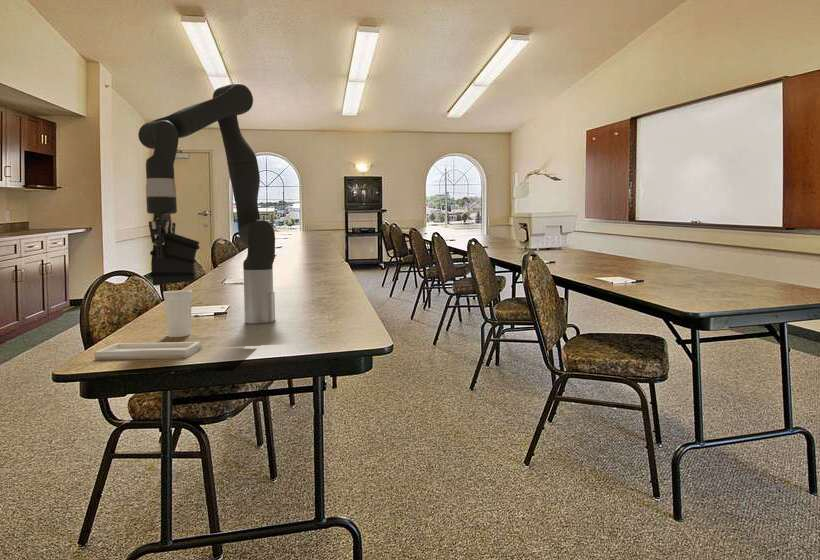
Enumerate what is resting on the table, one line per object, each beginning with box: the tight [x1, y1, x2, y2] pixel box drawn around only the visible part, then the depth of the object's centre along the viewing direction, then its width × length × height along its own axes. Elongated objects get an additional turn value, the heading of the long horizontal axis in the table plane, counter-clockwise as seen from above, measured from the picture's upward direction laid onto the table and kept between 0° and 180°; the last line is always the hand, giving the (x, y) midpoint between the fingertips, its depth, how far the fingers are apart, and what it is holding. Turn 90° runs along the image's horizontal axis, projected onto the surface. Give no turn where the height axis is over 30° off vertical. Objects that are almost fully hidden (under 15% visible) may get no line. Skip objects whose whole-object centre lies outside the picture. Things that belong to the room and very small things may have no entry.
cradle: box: [94, 341, 202, 361], centre depth 147 cm, size 22×12×2 cm, turn 94°
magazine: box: [149, 232, 201, 287], centre depth 158 cm, size 4×13×15 cm, turn 99°
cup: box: [162, 289, 194, 338], centre depth 169 cm, size 8×8×14 cm
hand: (164, 258), depth 157 cm, fingers closed on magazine, 4 cm apart
